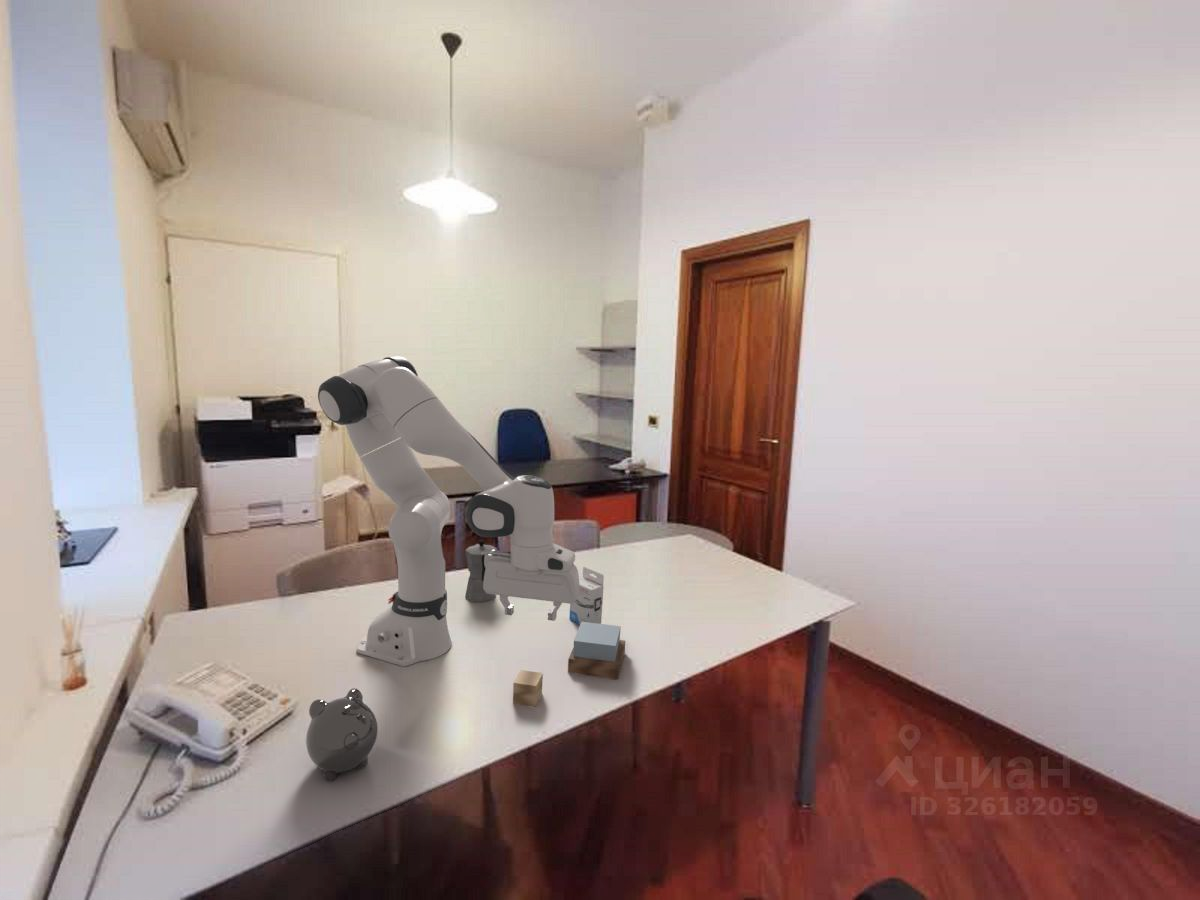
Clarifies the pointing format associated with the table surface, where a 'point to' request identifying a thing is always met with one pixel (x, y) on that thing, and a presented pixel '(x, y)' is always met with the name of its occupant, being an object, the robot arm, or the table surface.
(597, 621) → the ink box
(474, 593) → the coffeepot
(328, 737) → the piggy bank
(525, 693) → the oak block
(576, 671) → the tower base
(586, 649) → the tower top
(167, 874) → the table surface
